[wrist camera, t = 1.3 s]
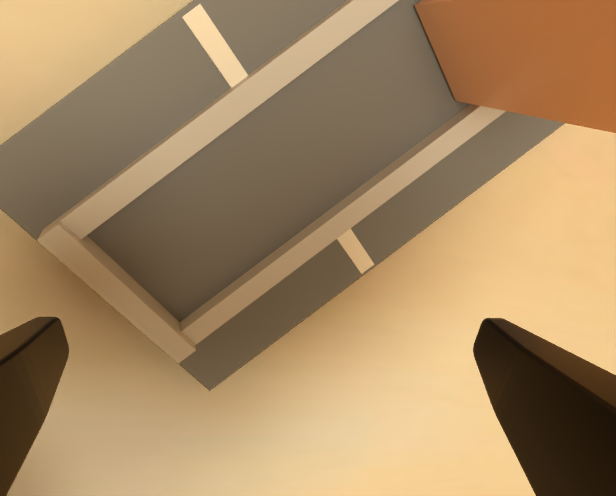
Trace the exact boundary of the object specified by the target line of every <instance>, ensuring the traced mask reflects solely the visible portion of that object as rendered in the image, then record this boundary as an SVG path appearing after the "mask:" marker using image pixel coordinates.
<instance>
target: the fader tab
mask: <svg viewBox="0 0 616 496" xmlns="http://www.w3.org/2000/svg"><path fill="white" fill-rule="evenodd" d="M414 6H415V8H416V10H417V12H418V15H419V17H420V19H421V22H422V24H423V26H424V29H425V31H426V33H427V36H428V38H429V40H430V43H431V45H432V47H433V49H434V52H435V54H436V56H437V59H438V61H439V63H440V66H441V68H442V70H443V73H444V75H445V77H446V80H447V82H448V84H449V86H450V89H451V91H452V93H453V96H454V98H455V100H456V101H459V102H464V103H469V104H474V105H479V106H484V107H489V108H494V109H499V110H504V111H509V112H514V113H519V114H524V115H529V116H534V117H539V118H544V119H549V120H554V121H559V122H563V123H568V124H573V125H578V126H583V127H588V128H593V129H598V130H603V131H608V132H613V133H616V0H421V1H419V2H418V3H417V4H415V5H414Z"/></svg>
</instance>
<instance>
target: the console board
mask: <svg viewBox="0 0 616 496" xmlns="http://www.w3.org/2000/svg"><path fill="white" fill-rule="evenodd" d="M419 1H421V0H193V1H192V2H191V3H189V4H188V5H187V6H185V7H184V8H183V9H181V10H180V11H179V12H177V13H176V14H175V15H173V16H172V17H171V18H169V19H168V20H167V21H165V22H164V23H163V24H161V25H160V26H159V27H157V28H156V29H155V30H153V31H152V32H151V33H149V34H148V35H147V36H145V37H144V38H143V39H142V40H140V41H139V42H138V43H136V44H135V45H134V46H132V47H131V48H130V49H128V50H127V51H126V52H124V53H123V54H122V55H120V56H119V57H118V58H116V59H115V60H114V61H112V62H111V63H110V64H108V65H107V66H106V67H104V68H103V69H102V70H100V71H99V72H98V73H96V74H95V75H94V76H92V77H91V78H90V79H88V80H87V81H86V82H84V83H83V84H82V85H80V86H79V87H78V88H76V89H75V90H74V91H72V92H71V93H70V94H68V95H67V96H66V97H64V98H63V99H62V100H60V101H59V102H58V103H56V104H55V105H54V106H52V107H51V108H50V109H48V110H47V111H46V112H44V113H43V114H42V115H40V116H39V117H38V118H36V119H35V120H34V121H32V122H31V123H30V124H28V125H27V126H26V127H25V128H23V129H22V130H21V131H19V132H18V133H17V134H15V135H14V136H13V137H11V138H10V139H9V140H7V141H6V142H5V143H3V144H2V145H1V146H0V209H1V210H2V211H4V212H5V213H6V214H7V215H8V216H9V217H10V218H12V219H13V220H14V221H15V222H16V223H17V224H19V225H20V226H21V227H22V228H23V229H24V230H25V231H27V232H28V233H29V234H30V235H31V236H32V237H33V238H35V239H36V240H37V242H38V243H40V244H41V245H42V246H43V247H44V248H45V249H46V250H48V251H49V252H50V253H51V254H52V255H53V256H55V257H56V258H57V259H58V260H59V261H60V262H61V263H63V264H64V265H65V266H66V267H67V268H68V269H69V270H71V271H72V272H73V273H74V274H75V275H76V276H78V277H79V278H80V279H81V280H82V281H83V282H84V283H86V284H87V285H88V286H89V287H90V288H91V289H92V290H94V291H95V292H96V293H97V294H98V295H99V296H101V297H102V298H103V299H104V300H105V301H106V302H107V303H109V304H110V305H111V306H112V307H113V308H114V309H115V310H117V311H118V312H119V313H120V314H121V315H122V316H124V317H125V318H126V319H127V320H128V321H129V322H130V323H132V324H133V325H134V326H135V327H136V328H137V329H138V330H140V331H141V332H142V333H143V334H144V335H145V336H147V337H148V338H149V339H150V340H151V341H152V342H153V343H155V344H156V345H157V346H158V347H159V348H160V349H162V350H163V351H164V352H165V353H166V354H167V355H168V356H170V357H171V358H172V359H173V360H174V361H175V362H176V363H178V364H179V365H181V366H182V367H183V368H184V369H185V370H186V371H187V372H189V373H190V374H191V375H192V376H193V377H194V378H196V379H197V380H198V381H199V382H200V383H201V384H202V385H204V386H205V387H206V388H207V389H208V390H209V391H210V390H212V389H213V388H214V387H216V386H217V385H218V384H219V383H221V382H222V381H223V380H225V379H226V378H227V377H229V376H230V375H231V374H233V373H234V372H235V371H237V370H238V369H239V368H241V367H242V366H243V365H245V364H246V363H247V362H249V361H250V360H251V359H253V358H254V357H255V356H257V355H258V354H259V353H261V352H262V351H263V350H265V349H266V348H267V347H269V346H270V345H271V344H273V343H274V342H275V341H277V340H278V339H279V338H281V337H282V336H283V335H285V334H286V333H287V332H289V331H290V330H291V329H293V328H294V327H295V326H296V325H298V324H299V323H300V322H302V321H303V320H304V319H306V318H307V317H308V316H310V315H311V314H312V313H314V312H315V311H316V310H318V309H319V308H320V307H322V306H323V305H324V304H326V303H327V302H328V301H330V300H331V299H332V298H334V297H335V296H336V295H338V294H339V293H340V292H342V291H343V290H344V289H346V288H347V287H348V286H350V285H351V284H352V283H354V282H355V281H356V280H358V279H359V278H360V277H362V276H363V275H364V274H366V273H367V272H368V271H370V270H371V269H372V268H374V267H375V266H376V265H377V264H379V263H380V262H381V261H383V260H384V259H385V258H387V257H388V256H389V255H391V254H392V253H393V252H395V251H396V250H397V249H399V248H400V247H401V246H403V245H404V244H405V243H407V242H408V241H409V240H411V239H412V238H413V237H415V236H416V235H417V234H419V233H420V232H421V231H423V230H424V229H425V228H427V227H428V226H429V225H431V224H432V223H433V222H435V221H436V220H437V219H439V218H440V217H441V216H443V215H444V214H445V213H447V212H448V211H449V210H451V209H452V208H453V207H454V206H456V205H457V204H458V203H460V202H461V201H462V200H464V199H465V198H466V197H468V196H469V195H470V194H472V193H473V192H474V191H476V190H477V189H478V188H480V187H481V186H482V185H484V184H485V183H486V182H488V181H489V180H490V179H492V178H493V177H494V176H496V175H497V174H498V173H500V172H501V171H502V170H504V169H505V168H506V167H508V166H509V165H510V164H512V163H513V162H514V161H516V160H517V159H518V158H520V157H521V156H522V155H524V154H525V153H526V152H528V151H529V150H530V149H532V148H533V147H534V146H535V145H537V144H538V143H539V142H541V141H542V140H543V139H545V138H546V137H547V136H549V135H550V134H551V133H553V132H554V131H555V130H557V129H558V128H559V127H561V126H562V125H563V124H565V123H563V122H559V121H554V120H549V119H544V118H539V117H534V116H529V115H524V114H519V113H514V112H509V111H504V110H499V109H494V108H489V107H484V106H479V105H474V104H469V103H464V102H459V101H456V100H455V98H454V96H453V93H452V91H451V89H450V86H449V84H448V82H447V80H446V77H445V75H444V73H443V70H442V68H441V66H440V63H439V61H438V59H437V56H436V54H435V52H434V49H433V47H432V45H431V43H430V40H429V38H428V36H427V33H426V31H425V29H424V26H423V24H422V22H421V19H420V17H419V15H418V12H417V10H416V8H415V6H414V5H415V4H417V3H418V2H419Z"/></svg>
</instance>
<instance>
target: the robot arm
mask: <svg viewBox="0 0 616 496" xmlns="http://www.w3.org/2000/svg"><path fill="white" fill-rule="evenodd" d="M473 353H474V357H475V360H476V363H477V366H478V369H479V371H480V374H481V377H482V380H483V382H484V385H485V388H486V391H487V394H488V396H489V399H490V402H491V404H492V407H493V409H494V412H495V414H496V416H497V418H498V420H499V422H500V424H501V426H502V428H503V430H504V432H505V434H506V436H507V438H508V440H509V442H510V444H511V446H512V448H513V450H514V452H515V454H516V456H517V458H518V460H519V462H520V464H521V466H522V468H523V471H524V473H525V475H526V477H527V479H528V481H529V483H530V485H531V487H532V489H533V491H534V493H535V495H536V496H616V375H614V374H612V373H610V372H608V371H606V370H604V369H602V368H600V367H598V366H596V365H594V364H592V363H590V362H588V361H586V360H584V359H582V358H580V357H578V356H576V355H574V354H572V353H570V352H568V351H566V350H564V349H562V348H560V347H558V346H556V345H555V344H553V343H551V342H549V341H547V340H545V339H543V338H541V337H539V336H537V335H535V334H533V333H531V332H529V331H527V330H525V329H523V328H521V327H519V326H517V325H515V324H513V323H511V322H509V321H507V320H505V319H502V318H486V319H484V320H483V321H482V323H481V326H480V329H479V332H478V334H477V337H476V340H475V343H474V347H473ZM68 354H69V347H68V343H67V339H66V336H65V333H64V329H63V326H62V323H61V321H60V319H59V318H57V317H37V318H34V319H32V320H30V321H28V322H26V323H24V324H22V325H20V326H18V327H16V328H14V329H12V330H10V331H8V332H6V333H4V334H2V335H0V496H6V495H7V493H8V491H9V489H10V487H11V485H12V483H13V482H14V480H15V478H16V476H17V474H18V472H19V470H20V468H21V466H22V464H23V462H24V460H25V458H26V456H27V454H28V452H29V450H30V448H31V446H32V444H33V442H34V440H35V439H36V437H37V435H38V433H39V431H40V429H41V427H42V425H43V422H44V420H45V418H46V416H47V413H48V411H49V408H50V406H51V403H52V400H53V397H54V395H55V392H56V389H57V386H58V384H59V381H60V378H61V376H62V373H63V370H64V367H65V365H66V362H67V359H68Z"/></svg>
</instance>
